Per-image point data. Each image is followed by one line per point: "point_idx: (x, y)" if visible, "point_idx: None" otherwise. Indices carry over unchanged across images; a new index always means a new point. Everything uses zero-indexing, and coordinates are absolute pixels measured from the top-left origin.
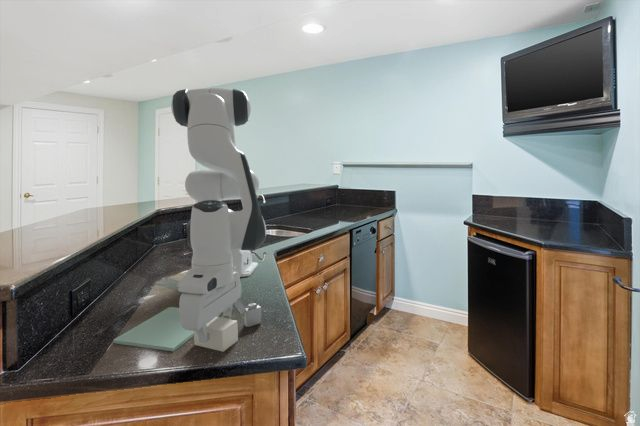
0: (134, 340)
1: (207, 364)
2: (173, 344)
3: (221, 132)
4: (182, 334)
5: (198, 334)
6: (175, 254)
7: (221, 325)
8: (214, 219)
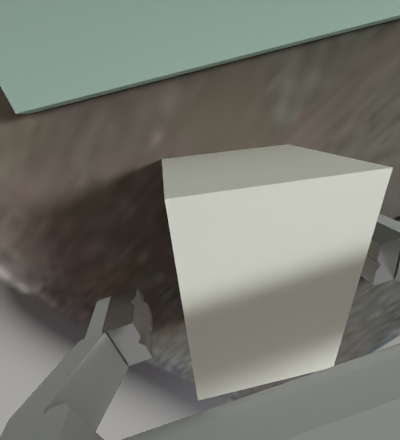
0: None
1: (86, 325)
2: (42, 61)
3: None
4: None
5: (78, 350)
6: None
7: (251, 359)
8: None
